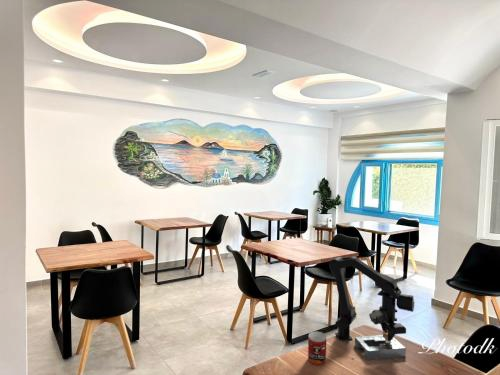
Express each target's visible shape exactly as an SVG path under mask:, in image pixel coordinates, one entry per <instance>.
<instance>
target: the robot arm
mask: <svg viewBox="0 0 500 375" xmlns="http://www.w3.org/2000/svg"><path fill="white" fill-rule="evenodd" d="M328 266H329V269H330V271H331V273H332V275H333V276H334V279H335V285H336V289H337V294H338V301H339V304H340V310H339V318H338V319H336V321H335V322H334V323H335V327H336V328H337V332H335V333H334V335H335V337H336V338H337V339H338V340H339V341H349V340H352V341H353V337H352V336H351V335H350V332H351V331H350V330H351V329H350V328H351V326H350V325H351V324H352V323H353V322H354V321H355V320H356V319H357V318H356V317H357V312H356V306H352V304H351V301H350V296H349V292H348V288H347V282H346V278H345V271H346V268H349V267H353V268H354V269H356V270H357V271H359V272H360V273H362V274H363V275H365V276H366V277H367V278H369V279H370V280H372V281H373V282H374V283H375V284H376V285H377V287H378V288H380V290H379V291H378V293H377V296H381V305H380V306H379V307H378V309H373V310H372V312H370V313H369V314H368V316H369V319H370V322H372V323H373V324H374V325H375V326H377V325H380V326H381V331H383V330H387V332H388V341H391V340H392V339H393V337H394V338H395V335H403V334H407V327H405V326H404V325H403V324H402V323H401V322H400V323H399V322H398V318H396V313H398V309H399V310H403V311H407V312H411V313H414V310H415V299H414V295H410V294H404V293H402V290H401V289H400V287H399V286H398V283H397V280H396V279H395V278H393V277H391V276H389V275H387V274H384V273H382V272H378V270H376V269H375V268H372V267H371V266H370V265H368V264H366V263H365V262H364V261H362V260H360V259H359V258H358V257H357V256H355V255H354V256H346V257H341V256H336V257H334V258H332V259H331V260H330V261H329V263H328ZM396 307H397V308H398V309H397V308H396Z"/></svg>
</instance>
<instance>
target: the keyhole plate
mask: <svg viewBox="0 0 500 375" xmlns="http://www.w3.org/2000/svg"><path fill="white" fill-rule="evenodd" d="M354 347H356V349H357V350H358V349H363V350H364V352H363V354H364V355H363V357H365V359H366V360H367V361H373V360H382V359H383V360H385V359H386V360H387V359H394V358H395V359H396V358H405V357H406V353H407V352H406V350H407V347H405V346H404V344H402V343H401V342H400V341H398V340H397V339H396V338H395V336H394V337H393V340H391V341H390V343H386V344H385V338H384V337H383V334H376V335H365V336H355V337H354Z"/></svg>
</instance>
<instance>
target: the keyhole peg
mask: <svg viewBox="0 0 500 375" xmlns="http://www.w3.org/2000/svg"><path fill="white" fill-rule="evenodd" d="M382 335H383V337H384V338H385V344H386V343H390V341H388V332H387V330H382ZM392 340H393V339H392Z"/></svg>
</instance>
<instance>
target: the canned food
mask: <svg viewBox="0 0 500 375" xmlns="http://www.w3.org/2000/svg"><path fill="white" fill-rule="evenodd" d="M307 340H308V341H307V360H308V362H309V363H310V364H312V365H315V366H322V365H324V364H325V363H326V362H327V361H326V360H327V335H326V334H325V333H323V332H321V331H311V332H309V333H308V339H307Z"/></svg>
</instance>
